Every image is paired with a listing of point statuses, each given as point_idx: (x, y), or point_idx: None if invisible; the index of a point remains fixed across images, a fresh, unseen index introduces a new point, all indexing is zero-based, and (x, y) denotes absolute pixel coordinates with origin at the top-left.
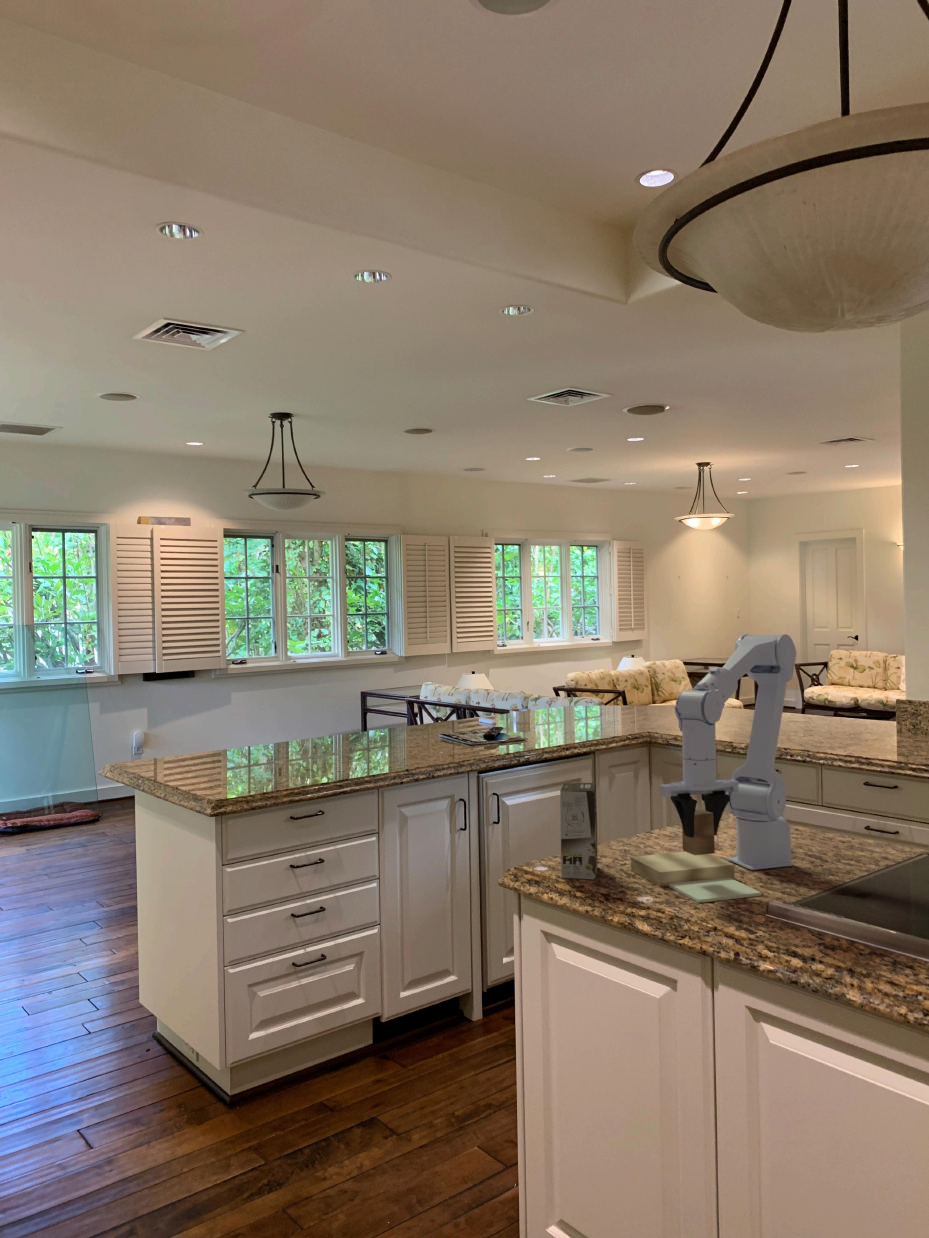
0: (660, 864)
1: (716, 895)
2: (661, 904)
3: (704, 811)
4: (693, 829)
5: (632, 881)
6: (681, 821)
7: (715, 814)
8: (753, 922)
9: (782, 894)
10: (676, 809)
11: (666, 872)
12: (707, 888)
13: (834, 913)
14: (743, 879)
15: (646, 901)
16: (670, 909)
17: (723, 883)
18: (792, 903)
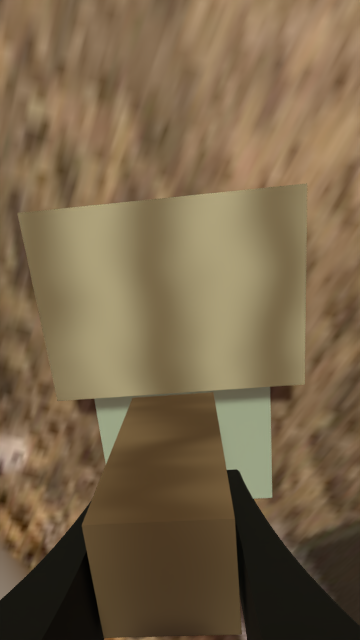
0: (86, 327)
1: None
2: (36, 488)
3: (216, 580)
4: None
5: (17, 323)
6: (76, 524)
7: (247, 633)
8: None
9: (320, 495)
10: (16, 585)
11: (79, 398)
12: None
13: (335, 601)
14: (307, 378)
15: (10, 465)
16: (44, 517)
17: (226, 421)
18: (299, 544)
